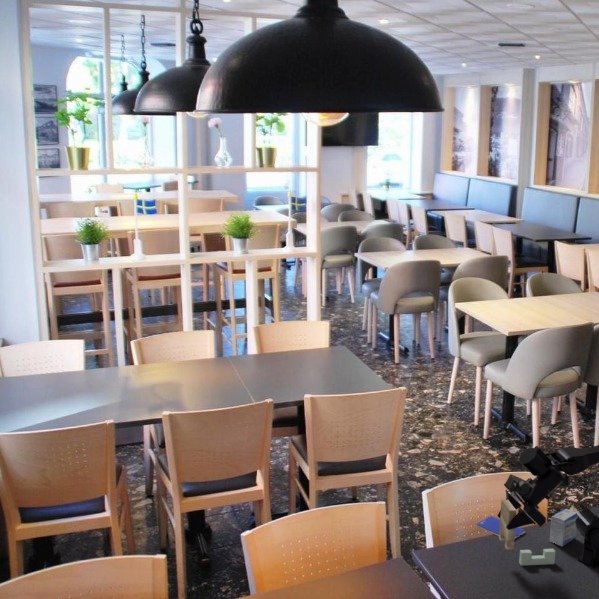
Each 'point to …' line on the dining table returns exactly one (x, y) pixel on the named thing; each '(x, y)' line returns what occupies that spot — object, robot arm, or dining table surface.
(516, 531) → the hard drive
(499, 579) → the dining table surface
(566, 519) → the medicine box
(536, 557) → the pale green u-shaped block
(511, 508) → the birch plate
